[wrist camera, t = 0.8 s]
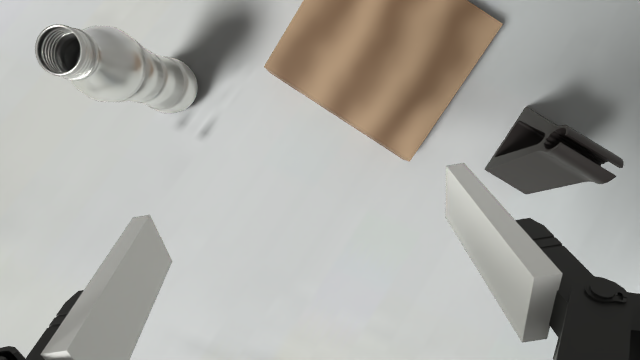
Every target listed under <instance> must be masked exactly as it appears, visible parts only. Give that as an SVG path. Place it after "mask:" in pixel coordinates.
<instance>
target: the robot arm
mask: <svg viewBox="0 0 640 360" xmlns="http://www.w3.org/2000/svg"><path fill="white" fill-rule="evenodd" d="M445 218H446V219H447V221H448V222H449V224H450V226H451V227H452V229H453V231H454V232H455V234H456V236H457V237H458V239H459V240H460V242H461V244H462V245H463V247H464V249H465V250H466V252H467V253H468V255H469V257H470V258H471V260H472V262H473V263H474V265H475V267H476V268H477V270H478V271H479V273H480V275H481V276H482V278H483V280H484V281H485V283H486V284H487V286H488V288H489V289H490V291H491V293H492V294H493V296H494V298H495V299H496V301H497V302H498V304H499V306H500V307H501V309H502V311H503V312H504V314H505V315H506V317H507V319H508V320H509V322H510V324H511V325H512V327H513V328H514V330H515V332H516V333H517V335H518V337H519V338H520V340H521V342H528V341H535V340H541V339H547V336H548V332H549V328H550V326H551V328H552V329H553V331H554V332H555V333H556V335H557V336H558V337H559V338H558V342H557V345H556V349H555V353H554V357H553V360H640V294H636V293H629V292H626V290H625V289H624V288H622V287H621V286H619V285H618V284H616V283H615V282H612V281H610V280H607V279H605V278H601V277H595V276H593V275H592V274H591V273H590V272H589V271H588V270H587V269H586V268H585V267H584V266H583V265H582V264H581V263H580V262H579V261H578V260H577V259H576V258H575V257H574V256H573V255H572V254H571V253H570V252H569V251H568V250H567V249H566V248H565V247H564V246H562V243H561V242H560V241H559V240H558V239H557V238H554V235H553V234H552V233H551V232H550V231H549V230H548V229H547V228H546V227H545V226H544V225H542V224H540V223H538V222H536V221H534V220H532V219H531V218H527V219H521V220H514V218H513V217H512V216H511V215H510V214H509V213H508V212H507V211H506V209H505V208H504V207H503V206H502V205H501V204H500V203H499V202H498V200H497V199H496V198H495V197H494V196H493V195H492V194H491V193H490V191H489V190H488V189H487V188H486V187H485V186H484V185H483V184H482V183H481V181H480V180H479V179H478V178H477V177H476V176H475V175H474V174H473V172H472V171H471V170H470V169H469V168H468V167H467V166H466V165H465V163H460V164H454V165H448V166H446V209H445ZM171 263H172V260H171V258H170V256H169V254H168V252H167V249H166V247H165V245H164V243H163V241H162V239H161V237H160V235H159V233H158V231H157V229H156V227H155V225H154V222H153V220H152V218H151V216H150V215H146V216H140V217H134V218H132V220H131V221H130V223H129V224H128V226H127V227H126V229H125V230H124V232H123V233H122V235H121V236H120V238H119V239H118V241H117V242H116V243H115V245H114V246H113V248H112V249H111V251H110V252H109V254H108V255H107V257H106V258H105V260H104V261H103V263H102V264H101V266H100V267H99V269H98V270H97V272H96V273H95V275H94V276H93V278H92V279H91V280H90V282H89V283H88V285H87V286H86V288H85V289H84V290H82V291H78V292H77V293H76V294H74V295H73V296H72V297H71V298H70V299H69V300H68V301H67V302H66V303H65V304H64V305H63V307H62V308H61V309H60V311H59V312H58V314H57V315H56V316H57V317H56V318H54V319H53V321H52V322H51V324H50V325H49V328H47V329H46V331H45V332H44V333H43V335H42V336H41V338H40V339H39V341H38V342H37V343H36V345H35V346H34V348H33V349H32V350H31V352H30V353H29V355H28V356H27V358H26V359H25V358H24V357H23V355H22V354H21V353H20V352H19V351H18V350H17V349H16V348H15V347H10V346H7V347H3V348H0V360H129V359H130V357H131V355H132V353H133V350H134V348H135V346H136V343H137V341H138V339H139V337H140V334H141V332H142V330H143V327H144V325H145V323H146V320H147V318H148V316H149V314H150V311H151V309H152V307H153V304H154V302H155V300H156V297H157V295H158V293H159V291H160V288H161V286H162V284H163V281H164V279H165V277H166V275H167V272H168V270H169V268H170V265H171Z"/></svg>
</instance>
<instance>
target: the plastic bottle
mask: <svg viewBox="0 0 640 360" xmlns="http://www.w3.org/2000/svg"><path fill="white" fill-rule="evenodd" d="M35 53H36V58H37V60H38V62H39V64H40V65H41V67H42V68H43V69H44V70H46V71H47V72H49V73H51V74H53V75H56V76H61V77H63V78H65V79H69V80H70V81H71V82H72V84H73V85H74V86H75V87H76V88H77V89H78V90H79V91H80V92H82V93H83V94H85V95H86V96H88V97H89V98H91V99H94V100H96V101H101V102H137V103H142V104H144V105H147V106H149V107H150V108H152V109H154V110H156V111H159V112H161V113H166V114H171V113H177V112H181V111H183V110H185V109H187V108H188V107H189V106H190V105H191V104H192V103H193V102H194V100H195V98H196V96H197V91H198V84H197V79H196V77H195V75H194V73H193V72H192V70H191V69H190V68H189V67H188V66H187V65H186V64H185V63H183V62H182V61H180V60H178V59H174V58H170V57H162V56H159V55H156V54H154V53H152V52H150V51H149V50H147V49H145V48H144V47H143V46H142V45H140V44H139V43H138V42H137V41H136V40H134V39H133V38H132V37H131V36H129V35H128V34H127V33H125V32H124V31H122V30H120V29H118V28H115V27H110V26H92V27H88V28H86V29H83V30H80V29H76V28H71V27H69V26H65V25H52V26H49V27H47V28H46V29H44V30H43V31H42V32H41V33H40V35H39V36H38V38H37V41H36V45H35Z"/></svg>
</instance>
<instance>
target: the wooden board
mask: <svg viewBox="0 0 640 360" xmlns="http://www.w3.org/2000/svg"><path fill="white" fill-rule="evenodd" d="M502 25H503V24H502V23H501V22H499V21H498V20H496V19H495V18H493V17H492V16H490V15H489V14H487V13H486V12H484V11H483V10H481V9H480V8H478V7H477V6H475V5H474V4H472V3H471V2H469V1H468V0H304V1H303V2H302V4H301V6H300V7H299V9H298V11H297V12H296V14H295V16H294V17H293V19H292V21H291V22H290V24H289V26H288V27H287V29H286V31H285V32H284V34H283V36H282V37H281V39H280V41H279V42H278V44H277V46H276V47H275V49H274V51H273V52H272V54H271V56H270V57H269V59H268V61H267V62H266V64H265V66H264V67H265V68H266V69H267V70H268V71H269V72H270V73H271V74H273V75H274V76H276V77H277V78H279V79H280V80H282V81H283V82H285V83H286V84H288V85H289V86H291V87H293V88H294V89H296V90H297V91H299V92H300V93H302V94H303V95H305V96H306V97H308V98H309V99H311V100H313V101H314V102H316V103H317V104H319V105H320V106H322V107H323V108H325V109H326V110H328V111H329V112H331V113H333V114H334V115H336V116H337V117H339V118H340V119H342V120H343V121H345V122H346V123H348V124H349V125H351V126H353V127H354V128H356V129H357V130H359V131H360V132H362V133H363V134H365V135H366V136H368V137H369V138H371V139H373V140H374V141H376V142H377V143H379V144H380V145H382V146H383V147H385V148H386V149H388V150H389V151H391V152H393V153H394V154H396V155H397V156H399V157H400V158H402V159H403V160H407V161H410V160H411V159H412V157H413V156H414V154H415V153H416V151H417V150H418V148H419V147H420V145H421V144H422V142H423V141H424V140H425V138H426V137H427V135H428V134H429V132H430V131H431V129H432V128H433V126H434V125H435V123H436V122H437V120H438V119H439V117H440V116H441V114H442V113H443V112H444V110H445V109H446V107H447V106H448V104H449V103H450V101H451V100H452V98H453V97H454V95H455V94H456V92H457V91H458V89H459V88H460V86H461V85H462V84H463V82H464V81H465V79H466V78H467V76H468V75H469V73H470V72H471V70H472V69H473V67H474V66H475V64H476V63H477V61H478V60H479V59H480V57H481V56H482V54H483V53H484V51H485V50H486V48H487V47H488V45H489V44H490V42H491V41H492V39H493V38H494V36H495V35H496V33H497V32H498V31H499V29H500V28H501V26H502Z"/></svg>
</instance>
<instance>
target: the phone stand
mask: <svg viewBox="0 0 640 360" xmlns="http://www.w3.org/2000/svg"><path fill="white" fill-rule="evenodd" d="M608 161H609V162H610V163H612V164H614V165H615V166H617V167H619V168H623V160H622V159H621V158H620V157H618V156H616V155H615V154H613V153H612V152H610V151H608V150H607V149H605V148H603V147H602V146H600V145H598V144H597V143H595V142H593V141H592V140H590V139H588V138H587V137H585V136H584V135H582V134H580V133H579V132H577V131H575V130H574V129H572V128H570V127H569V126H567V125H562V126H557V125H556V124H554V123H553V122H551V121H549V120H548V119H546V118H544V117H543V116H541V115H539V114H538V113H536V112H534V111H533V110H531V109H529V108H528V107H526V108H525V109H524V110H523V112H522V113H521V115H520V116H519V118H518V119H517V121H516V122H515V124H514V125H513V127H512V128H511V130H510V131H509V133H508V134H507V136H506V137H505V140H503V142H502V143H501V145H500V147H499V148H498V150H497V151H496V153H495V154H494V156H493V157H492V159H491V160H490V162H489V163H488V165H487V166H486V168H485V170H486V171H488V172H490V173H491V174H493V175H495V176H496V177H498V178H500V179H501V180H503V181H505V182H506V183H508V184H509V185H511V186H513V187H514V188H516V189H518V190H519V191H521V192H523V193H524V194H530V193H535V192H539V191H544V190H549V189H553V188H558V187H563V186H567V185H572V184H577V183H581V182H587V181H590V182H595V183H597V184H603V183H607V182H609V181H611V180H612V179H614V178H615V177H616V176H615V175H614V174H612V173H611V172H609V171H607V170H606V169H604V168H602V167H601V164H604V163H605V162H608Z"/></svg>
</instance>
